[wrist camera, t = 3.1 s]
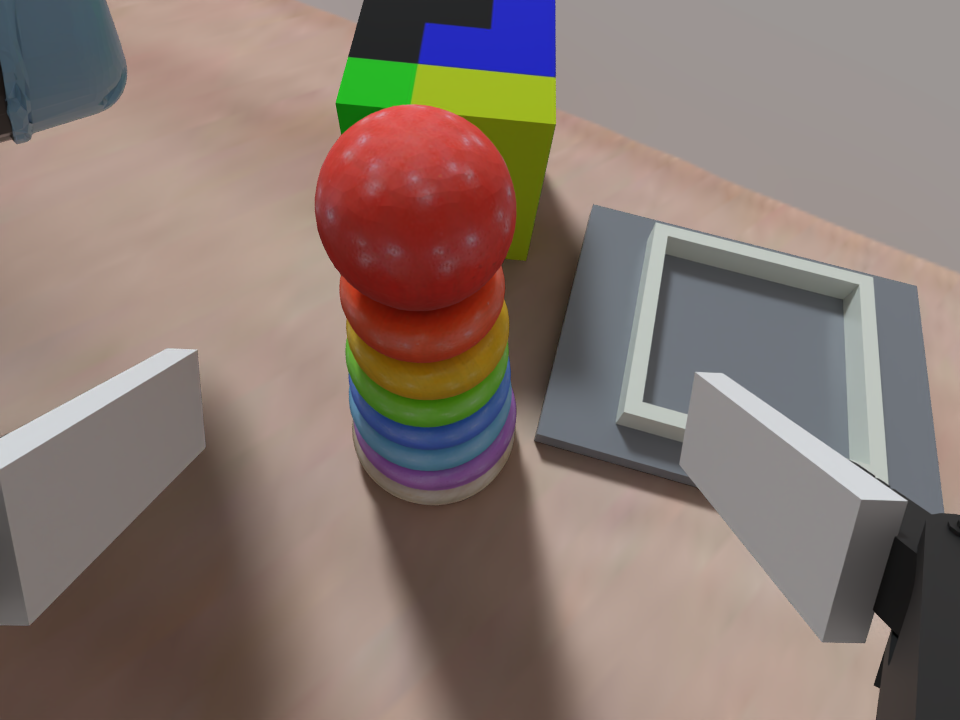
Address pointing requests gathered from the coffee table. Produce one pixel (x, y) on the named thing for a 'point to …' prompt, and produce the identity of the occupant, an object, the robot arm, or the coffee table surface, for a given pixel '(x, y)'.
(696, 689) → the coffee table surface
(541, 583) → the coffee table surface
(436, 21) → the puzzle toy
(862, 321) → the board
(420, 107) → the stacking toy
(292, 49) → the coffee table surface
